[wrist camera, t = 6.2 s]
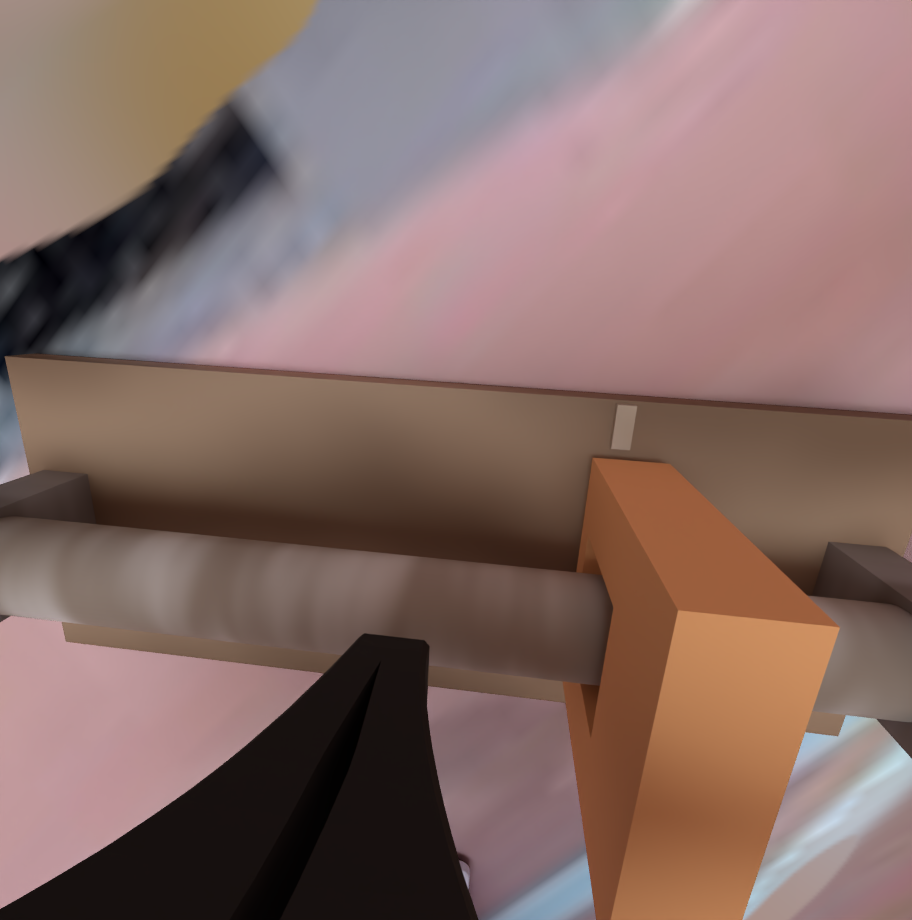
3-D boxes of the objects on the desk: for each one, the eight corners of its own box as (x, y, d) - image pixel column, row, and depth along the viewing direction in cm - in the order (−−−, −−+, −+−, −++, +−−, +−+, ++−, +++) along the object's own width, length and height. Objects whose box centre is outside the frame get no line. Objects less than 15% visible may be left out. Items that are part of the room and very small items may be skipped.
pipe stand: (819, 711, 16) (964, 900, 11) (88, 624, 18) (-78, 748, 13) (919, 415, 13) (1183, 483, 8) (35, 353, 16) (-206, 375, 10)
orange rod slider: (627, 682, 15) (721, 979, 8) (561, 674, 15) (601, 959, 9) (670, 463, 13) (839, 627, 6) (592, 457, 13) (678, 610, 6)
